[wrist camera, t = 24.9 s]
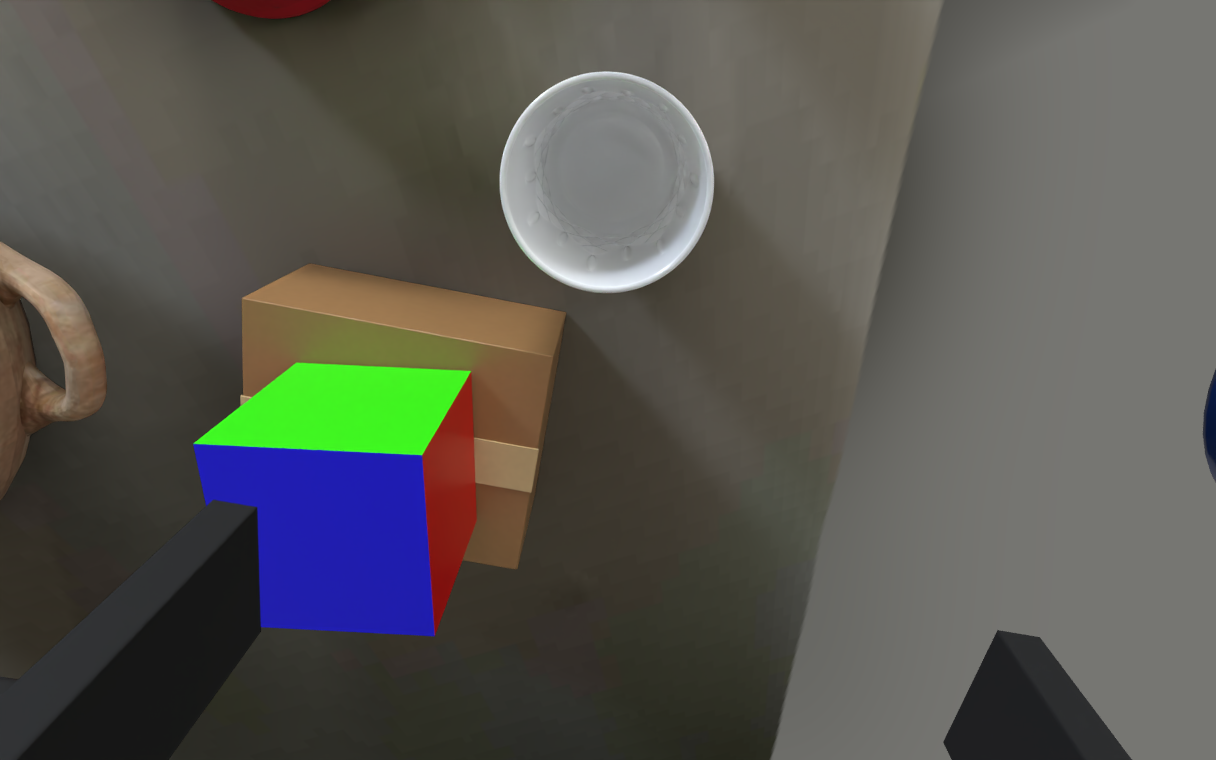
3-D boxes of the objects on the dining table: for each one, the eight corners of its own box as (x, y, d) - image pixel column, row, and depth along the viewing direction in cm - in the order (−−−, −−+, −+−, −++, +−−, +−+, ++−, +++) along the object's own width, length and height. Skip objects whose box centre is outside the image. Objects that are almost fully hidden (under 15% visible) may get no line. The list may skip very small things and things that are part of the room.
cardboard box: (567, 312, 37) (554, 357, 31) (535, 497, 42) (517, 571, 35) (308, 262, 37) (238, 297, 30) (303, 456, 41) (242, 524, 35)
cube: (476, 520, 34) (434, 636, 27) (317, 512, 34) (231, 625, 27) (471, 370, 31) (422, 455, 24) (296, 362, 31) (193, 443, 24)
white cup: (673, 60, 33) (691, 45, 23) (704, 224, 35) (731, 268, 26) (515, 102, 33) (471, 103, 24) (557, 258, 36) (532, 313, 27)
